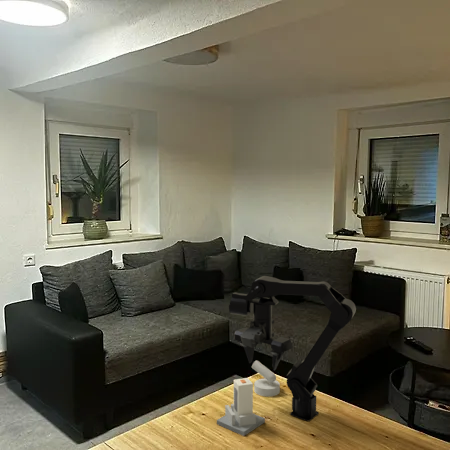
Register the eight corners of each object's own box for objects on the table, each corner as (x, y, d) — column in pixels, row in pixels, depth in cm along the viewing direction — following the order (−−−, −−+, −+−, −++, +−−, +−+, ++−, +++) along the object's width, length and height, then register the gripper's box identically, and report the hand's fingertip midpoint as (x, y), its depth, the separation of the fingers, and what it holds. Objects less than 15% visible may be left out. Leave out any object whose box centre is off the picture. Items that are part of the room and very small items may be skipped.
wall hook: (259, 356, 163) (284, 362, 157) (259, 382, 164) (284, 389, 158) (245, 363, 156) (271, 370, 150) (245, 390, 157) (271, 399, 151)
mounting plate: (265, 421, 136) (265, 408, 136) (243, 436, 128) (243, 421, 128) (238, 410, 143) (238, 397, 142) (216, 423, 135) (216, 410, 135)
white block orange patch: (247, 413, 139) (247, 377, 138) (252, 420, 135) (252, 383, 134) (233, 415, 138) (233, 378, 137) (237, 422, 133) (237, 385, 132)
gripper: (222, 317, 143) (222, 366, 145) (272, 329, 131) (271, 382, 133) (245, 310, 152) (244, 356, 153) (293, 320, 140) (292, 371, 141)
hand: (262, 366), depth 145 cm, fingers open, 9 cm apart
